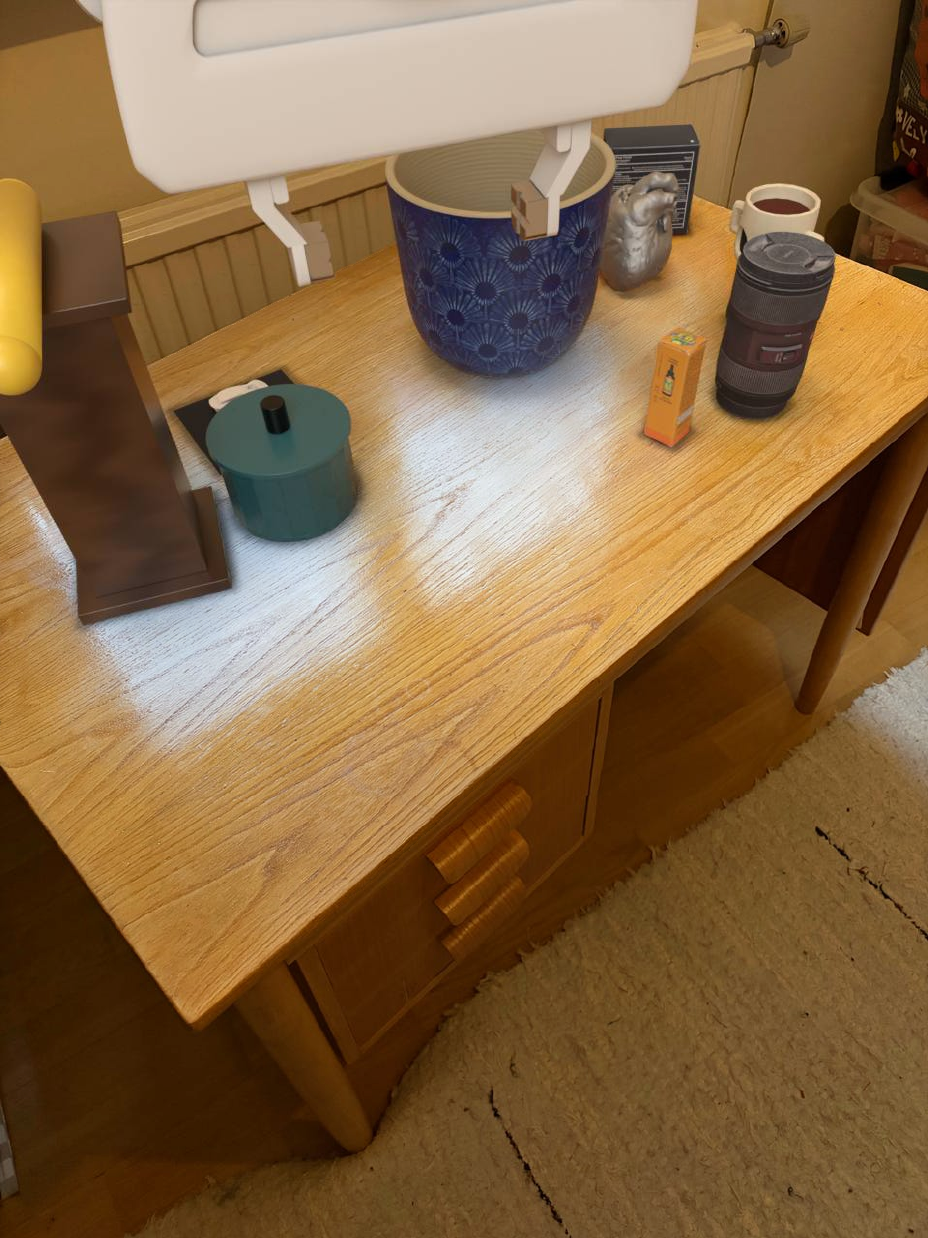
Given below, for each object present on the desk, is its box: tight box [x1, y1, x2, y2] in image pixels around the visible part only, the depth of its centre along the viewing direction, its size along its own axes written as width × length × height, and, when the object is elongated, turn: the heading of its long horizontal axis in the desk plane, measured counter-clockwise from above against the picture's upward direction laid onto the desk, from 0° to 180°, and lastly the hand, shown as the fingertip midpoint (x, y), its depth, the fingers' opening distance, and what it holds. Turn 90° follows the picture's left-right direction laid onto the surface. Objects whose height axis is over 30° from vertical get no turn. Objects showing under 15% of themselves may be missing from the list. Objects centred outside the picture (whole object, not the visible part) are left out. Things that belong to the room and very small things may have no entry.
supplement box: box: [643, 327, 708, 448], centre depth 79 cm, size 3×4×10 cm
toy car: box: [208, 377, 269, 413], centre depth 86 cm, size 8×6×2 cm
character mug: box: [724, 182, 825, 320], centre depth 89 cm, size 11×7×13 cm, turn 38°
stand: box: [0, 210, 233, 626], centre depth 65 cm, size 12×12×26 cm
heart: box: [600, 172, 679, 292], centre depth 96 cm, size 10×10×12 cm
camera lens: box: [714, 232, 837, 420], centre depth 80 cm, size 8×8×15 cm
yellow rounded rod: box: [0, 177, 43, 395], centre depth 51 cm, size 22×3×3 cm, turn 17°
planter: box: [384, 129, 616, 379], centre depth 85 cm, size 21×21×19 cm
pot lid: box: [206, 383, 352, 480], centre depth 72 cm, size 12×12×4 cm
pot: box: [219, 437, 358, 543], centre depth 76 cm, size 11×11×8 cm
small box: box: [602, 123, 702, 236], centre depth 105 cm, size 11×6×10 cm, turn 89°
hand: (426, 254), depth 36 cm, fingers open, 8 cm apart
